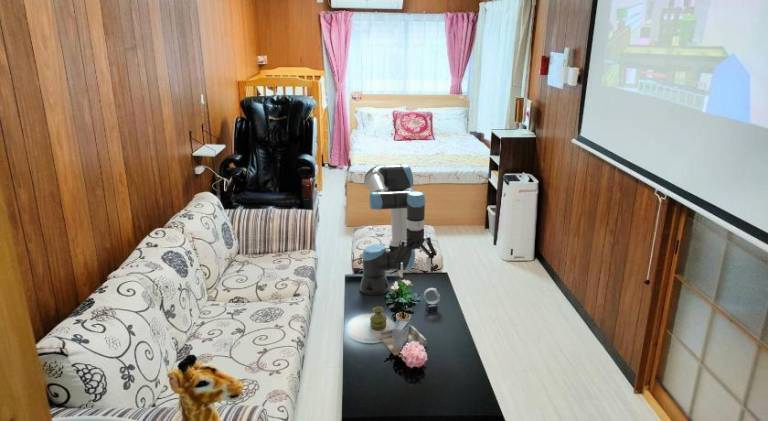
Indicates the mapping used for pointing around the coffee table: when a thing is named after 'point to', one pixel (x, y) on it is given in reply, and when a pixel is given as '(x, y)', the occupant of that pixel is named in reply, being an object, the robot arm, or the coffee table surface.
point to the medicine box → (400, 334)
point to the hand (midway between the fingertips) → (414, 273)
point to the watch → (432, 305)
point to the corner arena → (413, 336)
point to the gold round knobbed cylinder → (378, 319)
